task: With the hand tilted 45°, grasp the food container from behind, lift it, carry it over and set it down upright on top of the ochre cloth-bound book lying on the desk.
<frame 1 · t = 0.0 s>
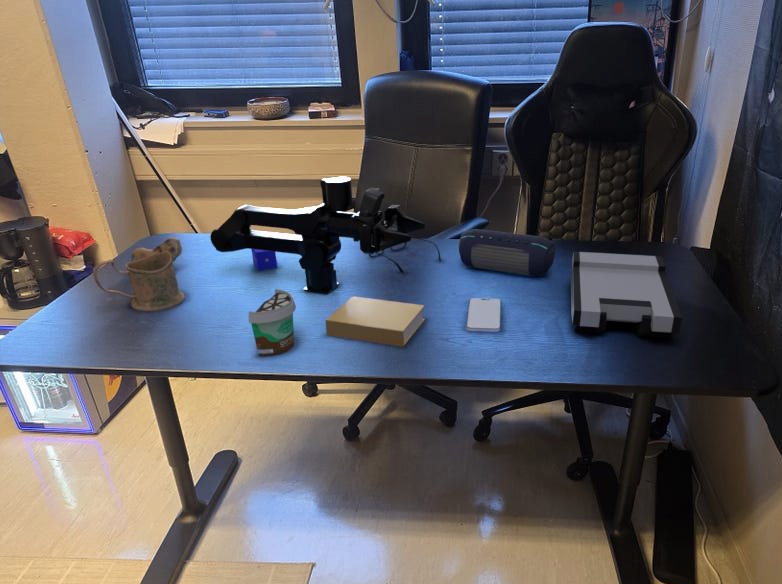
hand: (417, 231, 138), 17 cm above the table, tool horizontal, fingers open, 9 cm apart
book: (377, 327, 134), on the table
smartphone: (484, 317, 139), on the table
mug: (145, 305, 144), on the table
lion figurine: (159, 273, 162), on the table
portable speaker: (504, 271, 164), on the table
eyeglasses: (403, 260, 171), on the table
food container: (283, 347, 126), on the table
game console: (617, 313, 141), on the table
die: (265, 267, 166), on the table
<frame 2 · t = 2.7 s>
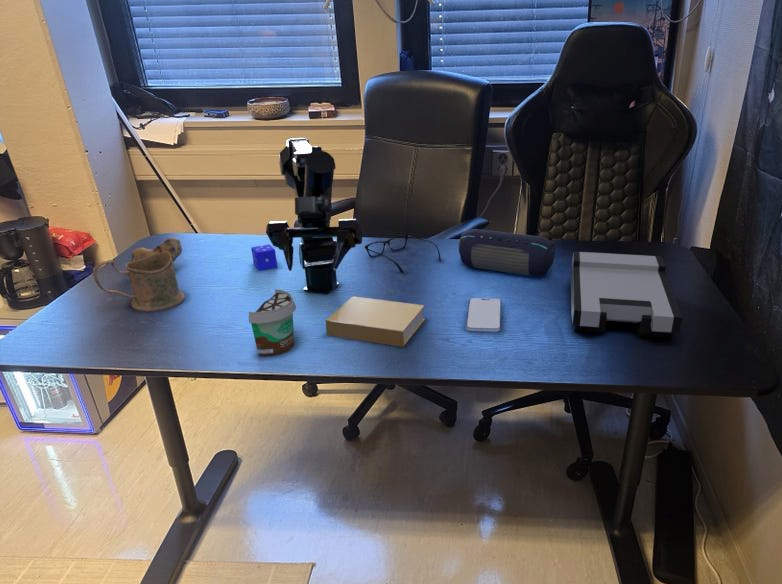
hand: (312, 269, 126), 14 cm above the table, tool tilted 50°, fingers open, 9 cm apart
nothing on the table moved.
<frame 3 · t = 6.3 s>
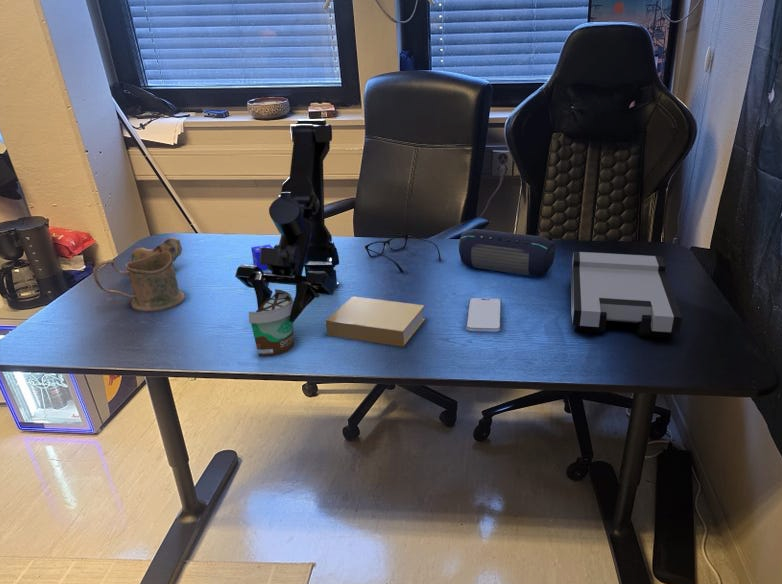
hand: (275, 320, 122), 7 cm above the table, tool tilted 45°, fingers closed on food container, 6 cm apart
food container: (283, 347, 126), on the table, touching gripper
everything else where it was.
when the fingers open (10 cm above the table, at t = 13.3 s): food container stays where it is, resting on book.
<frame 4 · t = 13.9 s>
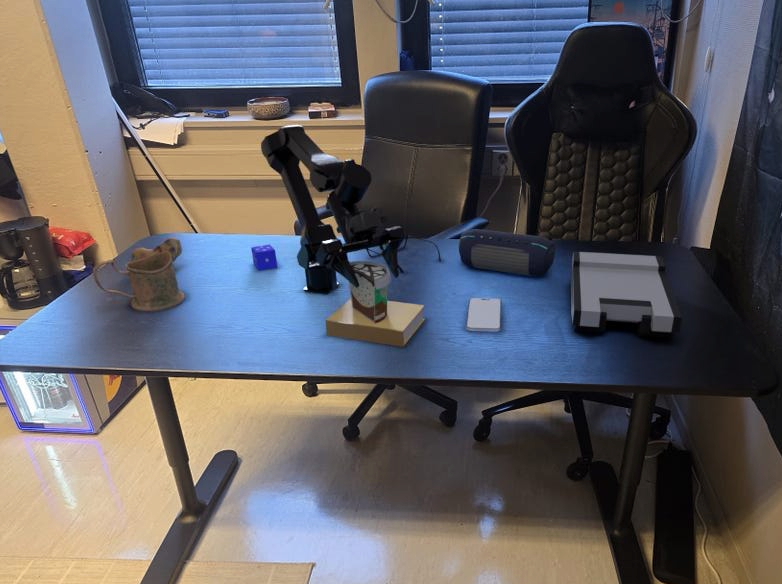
hand: (378, 281, 128), 11 cm above the table, tool tilted 45°, fingers open, 9 cm apart
food container: (376, 313, 133), point 3 cm above the table, touching book
everything else where it was.
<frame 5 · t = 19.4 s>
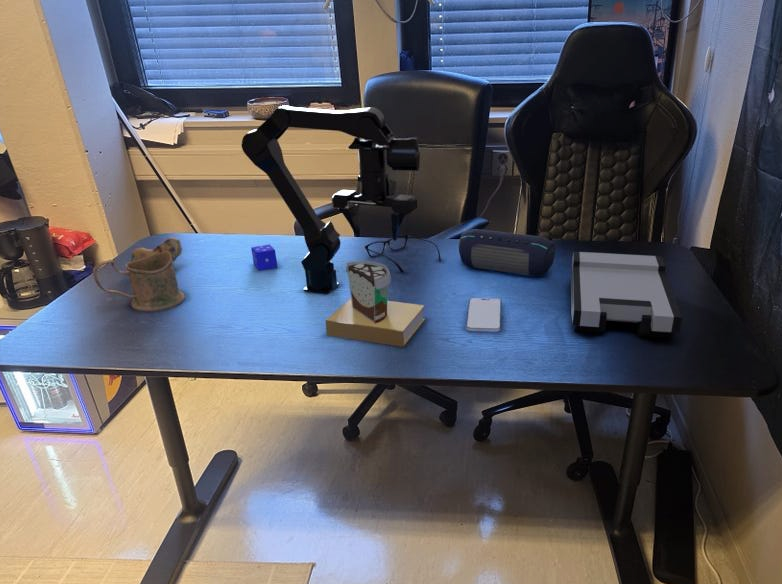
hand: (376, 238, 146), 13 cm above the table, tool pointing down, fingers open, 9 cm apart
nothing on the table moved.
at the end: food container inside the target area on the book (0.1 cm from its centre), point 3.3 cm above the book's base; food container tilted 0°; the gripper is holding nothing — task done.
